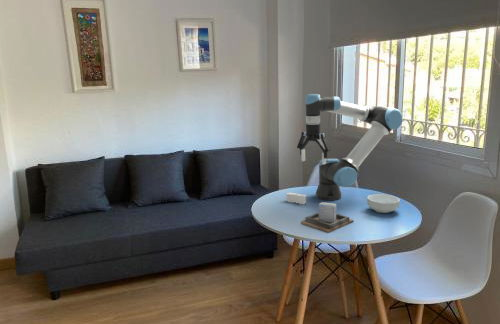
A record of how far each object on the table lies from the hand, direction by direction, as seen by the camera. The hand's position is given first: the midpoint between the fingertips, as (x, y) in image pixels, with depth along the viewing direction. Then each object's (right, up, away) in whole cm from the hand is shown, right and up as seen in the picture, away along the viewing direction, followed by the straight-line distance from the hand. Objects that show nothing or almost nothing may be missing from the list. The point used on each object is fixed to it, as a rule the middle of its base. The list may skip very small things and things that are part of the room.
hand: (313, 162), depth 220 cm
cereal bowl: (+37, -26, -3) cm, 45 cm away
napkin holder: (-8, -24, +14) cm, 29 cm away
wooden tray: (+4, -30, -18) cm, 35 cm away
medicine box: (+4, -29, -18) cm, 35 cm away
